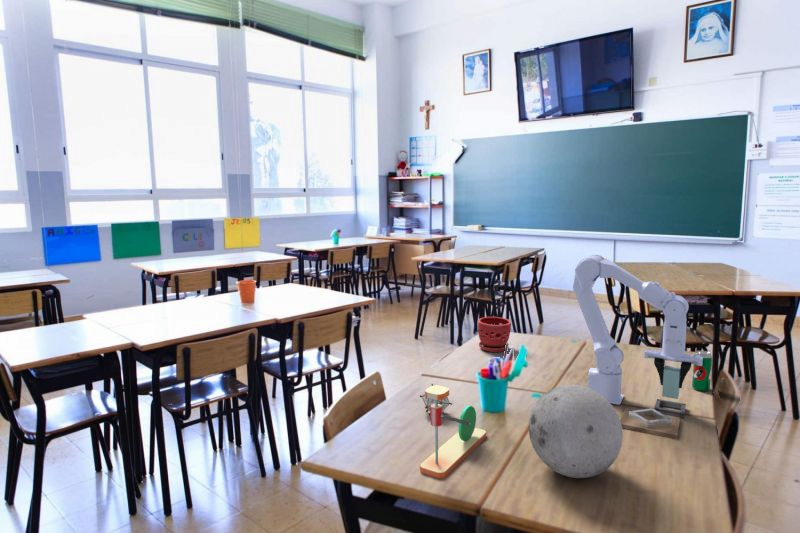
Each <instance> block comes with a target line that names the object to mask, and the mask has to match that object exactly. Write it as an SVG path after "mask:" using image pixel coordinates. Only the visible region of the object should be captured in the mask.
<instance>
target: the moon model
mask: <svg viewBox="0 0 800 533" xmlns="http://www.w3.org/2000/svg"><path fill="white" fill-rule="evenodd" d="M620 419H621V418H620V417H619V414H618V413H617V410H616V409H615V408H614V406H613V404H612V403H609V401H608V400H607V399H606V398H604V397H603V396H602V395H601V394H599V393H597V392H596V391H594V390H592V389H590V388H588V386H583V385H576V384H565V385H559V386H556V387H554V388H552V389H550V390H548V391H547V392H545V393H543V394H542V395H541V396H540V397H539V399H538V400H537V401H536V402H535V404H534V405H533V407H532V410H531V413H530V416H529V420H528V435H529V439H530V443H531V446H532V448H533V449H534V452H535V453H536V455H537V456H538V458H539V459H540V460H541V461H542V463H544V465H545V466H547V467H548V468H550V470H552V471H554V472H556V473H558V474H560V475H561V476H564V477H568V478H574V479H586V478H592V477H596V476H597V475H600V474H602V473H603V472H605V471H606V470H608V469H609V468H610V467H611V466H612V465H613V464H614V462H615V461H616V460H617V458H618V456H619V454H620V452H621V449H622V446H623V438H624V436H623V428H622V426H621V422H620Z"/></svg>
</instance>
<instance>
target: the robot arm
mask: <svg viewBox="0 0 800 533" xmlns="http://www.w3.org/2000/svg"><path fill="white" fill-rule="evenodd" d="M609 278H610V279H614V280H615V281H617V282H619V283H621V284H623V285H624V286H626V287H628V288H630V289H632V290H634V291H635V292H637V294H638V295H637V296H638V297H639V299H641V300H642V301H644V302H646V304H647V303H648V304H649V305H651V306H652V307H654V308H656V309H657V310H659V311H662V313H663V315H664V322H663V327H662V328H663V330H662V346H661V350H651V349H650V350H649V349H645V351H644V359H653V360H654V361H653V364H654V366H655V368H656V371H657V373H658V377H659V381H660V382H659V383H660V386H663V374H664V367H665V363H666V361H668V362H676V363H681V364H680V368H681V371H680V382H679V389H683V383H684V381H685V378H686V376H687V375H688V373H689V371H690V369H691V368H692V365H693V364H696V365H698V366H702V362H703V357H697V356H694V355H692V354H689V353H688V354H687V353H685V352H686V342H687V341H686V339H687V327H688V326H687V318H688V317H687V315H688V311H689V308H690V306H689V303H688V301H687V300H686V299H685V298H684V297H683V296H682V295H680V294H679V295H676V293H675V292H674V291H672V292H670V291H668V290H667V289H665V288H664V287H663V286H661V285H660V283H659V282H658V281H655V282H653V281H652V280H651V281H643V280H641V279H640V278H638V277H636V276H635V275H633V274H632V273H630V272H629V271H627V270H626V269H624V268H623V267H621V266H619V265H618V264H616V263H615V262H613V261H612V260H610V259H607V258H604V257H603V256H602V255H599V254H593V255H589V257H586V258H583V259H581V260H580V261H579V262H578V264H577V265H576V267H575V268H574V279H573V284H572V285H573V286H572V289H573V293H574V295H575V297H576V298H575V299H576V300H577V302H578V305H579V308H580V310H581V313H582V316H583V317H584V320H585V324H586V326H587V328H588V331H589V333H590V336H591V339H592V342H593V353H594V355H595V356H594V357H595V361H594V363H595V367H590V368H589V370H588V376H587V388H590V389H592V390H594V391H596V392H597V393H599V394H601V395H602V396H603V397H604V398H606V399H607V400H608V401H609V403H610V404H611V405H618V406H619V405H621V403H622V401H623V398H624V397H625V394H622V382H623V380H622V379H623V369H622V367H621V364H622V363H623V361H624V358H625V354H624V351H623V350H622V348H620V347H619V346H618V345H617V343H616V341H615V339H614V338H613V337H612V336H611V335H610V332H609V329H608V326H607V323H606V321H605V319H604V316H603V313H602V311H601V308H600V306H599V303H598V301H597V299H596V296H595V292H594V290H593V287H594V285H595V283H596V281H597V279H609Z"/></svg>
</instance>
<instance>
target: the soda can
mask: <svg viewBox="0 0 800 533" xmlns="http://www.w3.org/2000/svg"><path fill="white" fill-rule="evenodd" d="M693 356H697V357H703V362H702V366H698V365H696V364H692V366H693V367H692V380H691V387H692V389H693V390H695V391H697V392H698V391H699V392H708V391H710V390H711V383H712V382H711V381H712V370H713V369H712V368H713V367H712V366H713V355H712V352H709V351H707V350H696V351H695V353H694V354H693Z"/></svg>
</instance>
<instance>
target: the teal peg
mask: <svg viewBox="0 0 800 533" xmlns="http://www.w3.org/2000/svg"><path fill="white" fill-rule="evenodd" d="M680 371H681V366H680V367H678V366H672V365H664V374H663V385H662V392H661V393H662V394H661V395H662V396H661V397H662V398H668V399H676V400H679V396H680V388H679V382H680Z"/></svg>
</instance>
